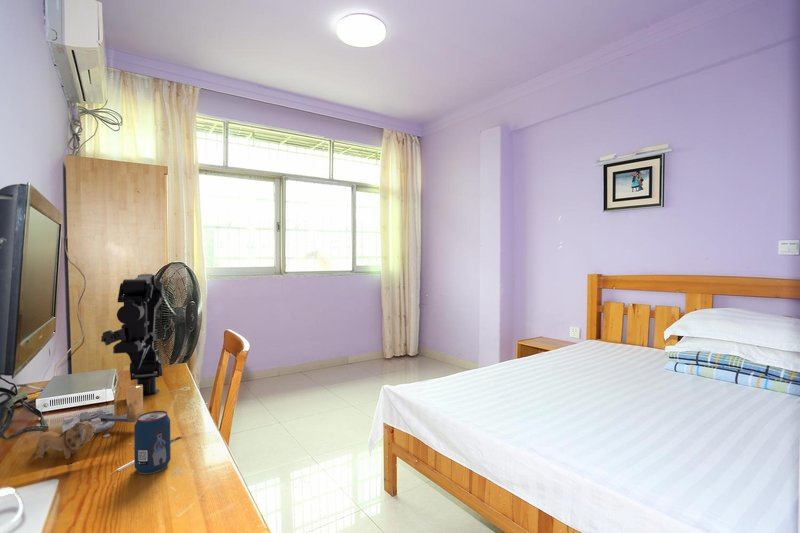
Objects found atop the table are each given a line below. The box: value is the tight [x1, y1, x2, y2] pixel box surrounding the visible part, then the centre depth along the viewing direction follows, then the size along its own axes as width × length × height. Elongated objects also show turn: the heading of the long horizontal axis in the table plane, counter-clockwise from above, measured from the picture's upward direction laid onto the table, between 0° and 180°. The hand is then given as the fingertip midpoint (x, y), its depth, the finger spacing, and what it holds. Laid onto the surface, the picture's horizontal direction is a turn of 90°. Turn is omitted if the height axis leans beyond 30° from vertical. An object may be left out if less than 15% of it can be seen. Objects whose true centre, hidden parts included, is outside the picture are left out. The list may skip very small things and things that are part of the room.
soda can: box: [133, 410, 172, 475], centre depth 89 cm, size 7×7×12 cm
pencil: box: [109, 436, 181, 476], centre depth 95 cm, size 1×19×1 cm, turn 163°
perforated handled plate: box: [62, 384, 144, 435], centre depth 106 cm, size 20×11×12 cm, turn 87°
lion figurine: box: [31, 421, 96, 466], centre depth 92 cm, size 15×5×9 cm, turn 96°
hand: (136, 369), depth 122 cm, fingers closed
